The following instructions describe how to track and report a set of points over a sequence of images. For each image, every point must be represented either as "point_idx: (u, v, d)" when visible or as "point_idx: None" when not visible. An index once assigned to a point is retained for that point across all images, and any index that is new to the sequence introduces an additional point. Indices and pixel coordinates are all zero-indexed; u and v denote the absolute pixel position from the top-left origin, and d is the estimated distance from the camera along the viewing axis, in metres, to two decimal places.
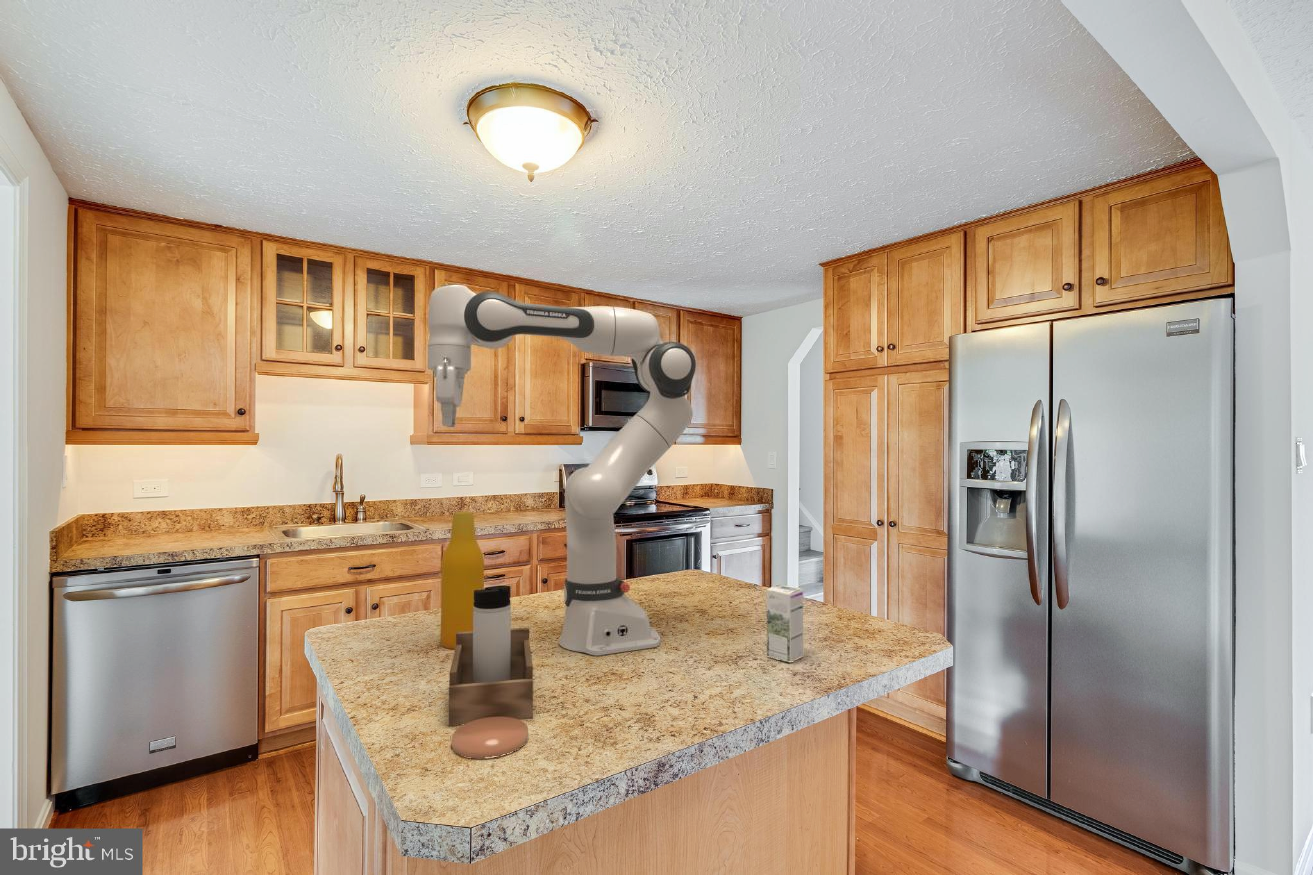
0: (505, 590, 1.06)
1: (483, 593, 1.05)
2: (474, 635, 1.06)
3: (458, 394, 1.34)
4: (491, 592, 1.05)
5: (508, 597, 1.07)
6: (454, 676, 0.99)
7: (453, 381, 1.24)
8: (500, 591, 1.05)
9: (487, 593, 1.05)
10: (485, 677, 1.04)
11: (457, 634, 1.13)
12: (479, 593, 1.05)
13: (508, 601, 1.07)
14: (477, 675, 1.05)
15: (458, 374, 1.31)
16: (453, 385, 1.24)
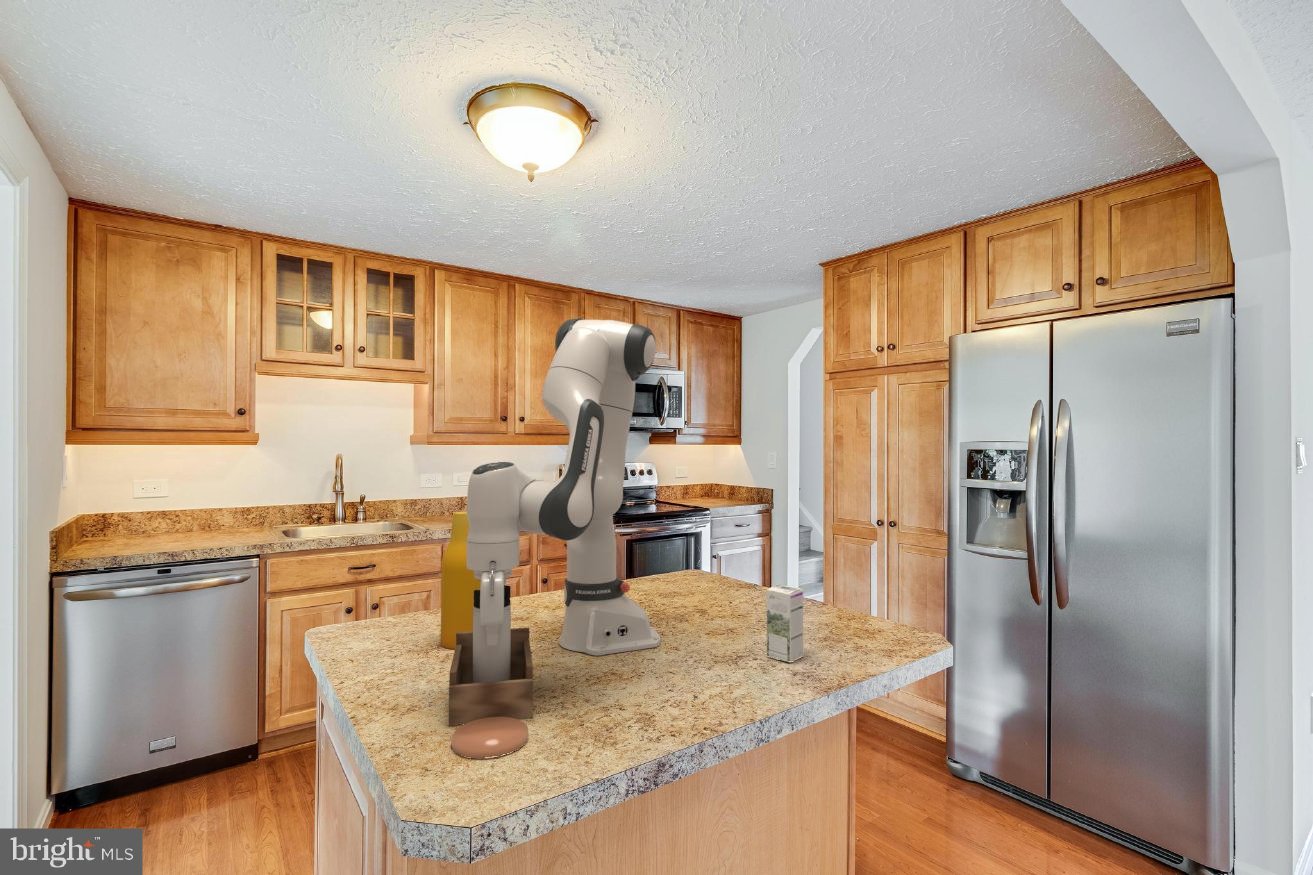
0: (505, 590, 1.05)
1: None
2: (474, 635, 1.06)
3: None
4: None
5: (508, 597, 1.07)
6: (454, 676, 0.99)
7: (502, 599, 0.99)
8: None
9: None
10: (485, 677, 1.04)
11: (457, 634, 1.13)
12: (479, 593, 1.05)
13: (508, 601, 1.07)
14: (477, 675, 1.05)
15: (505, 576, 1.06)
16: (502, 604, 0.98)
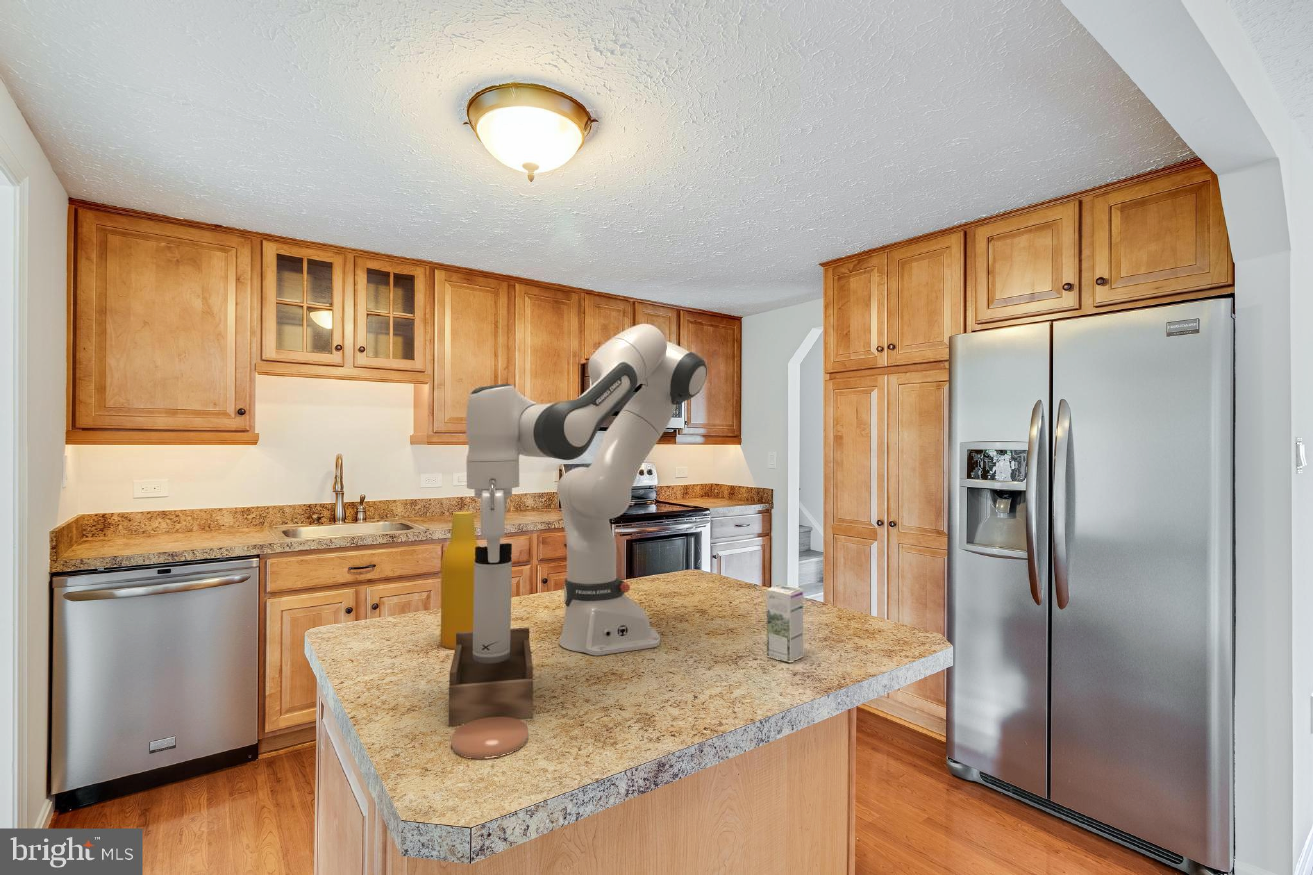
0: (505, 546, 1.05)
1: (483, 548, 1.05)
2: (474, 590, 1.06)
3: None
4: None
5: (508, 554, 1.07)
6: (454, 676, 0.99)
7: (502, 513, 0.99)
8: (500, 547, 1.05)
9: (487, 548, 1.05)
10: (484, 633, 1.05)
11: (457, 634, 1.13)
12: (479, 548, 1.05)
13: (509, 558, 1.07)
14: (476, 630, 1.05)
15: (505, 495, 1.06)
16: (502, 518, 0.99)
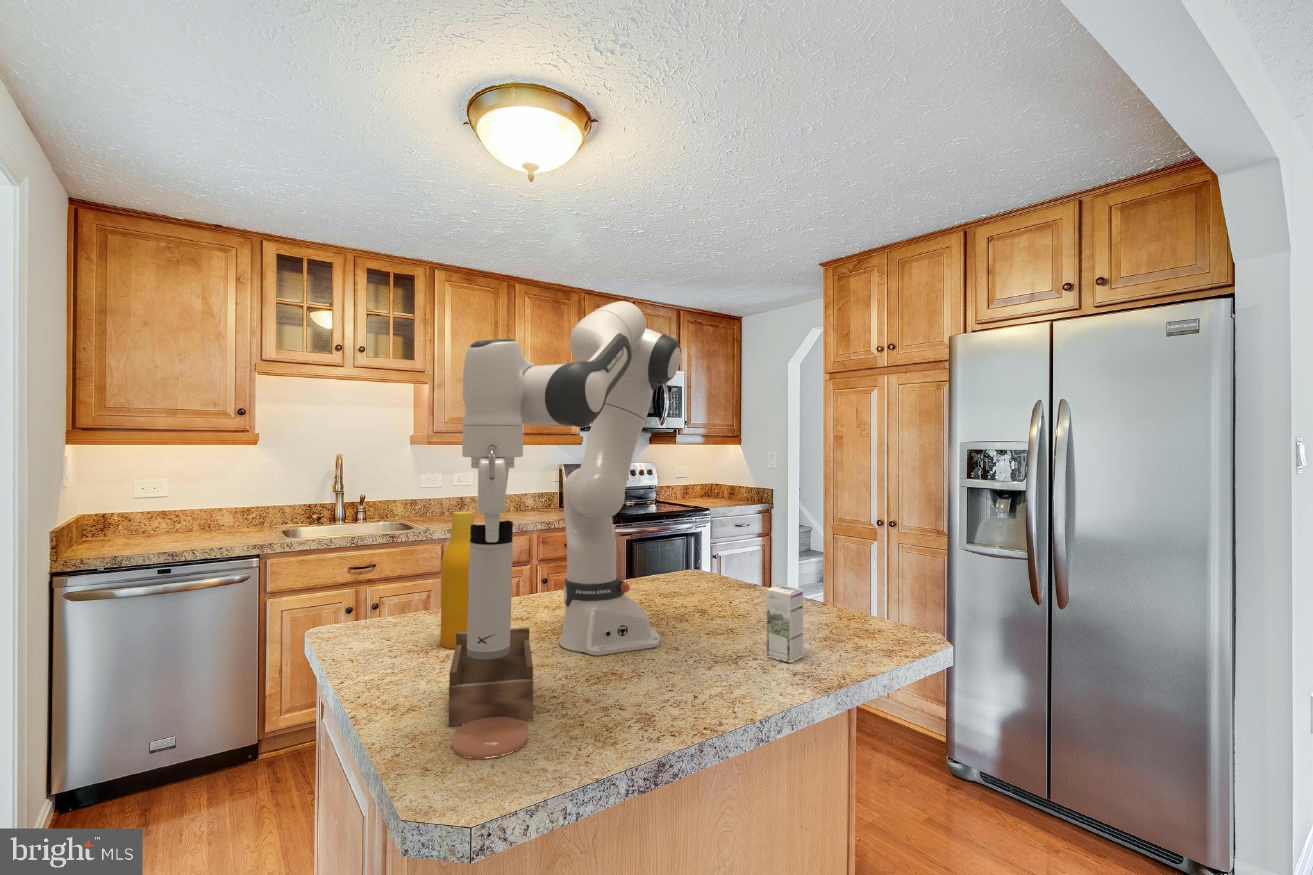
0: (505, 524, 0.91)
1: (480, 526, 0.91)
2: (469, 575, 0.92)
3: None
4: None
5: (509, 533, 0.93)
6: (454, 676, 0.99)
7: (503, 483, 0.85)
8: (499, 525, 0.91)
9: (484, 526, 0.91)
10: (480, 623, 0.90)
11: (457, 634, 1.13)
12: (475, 526, 0.91)
13: (509, 538, 0.93)
14: (471, 621, 0.91)
15: (506, 465, 0.92)
16: (503, 489, 0.85)
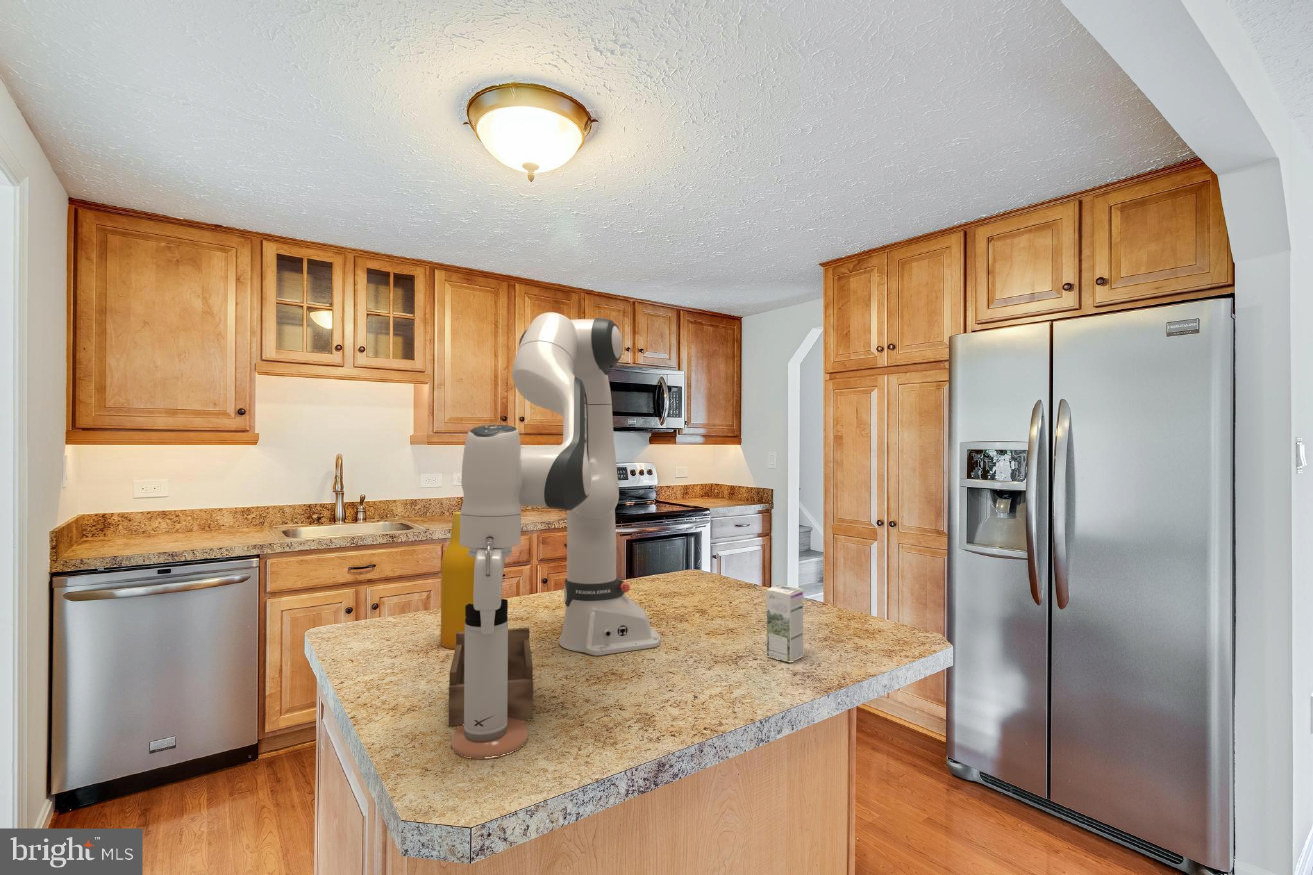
0: None
1: None
2: (465, 656, 0.92)
3: None
4: None
5: (504, 613, 0.92)
6: (454, 676, 0.99)
7: (499, 580, 0.84)
8: None
9: None
10: (476, 706, 0.90)
11: (457, 634, 1.13)
12: (470, 608, 0.91)
13: (504, 618, 0.93)
14: (467, 703, 0.91)
15: (503, 554, 0.92)
16: (499, 586, 0.84)
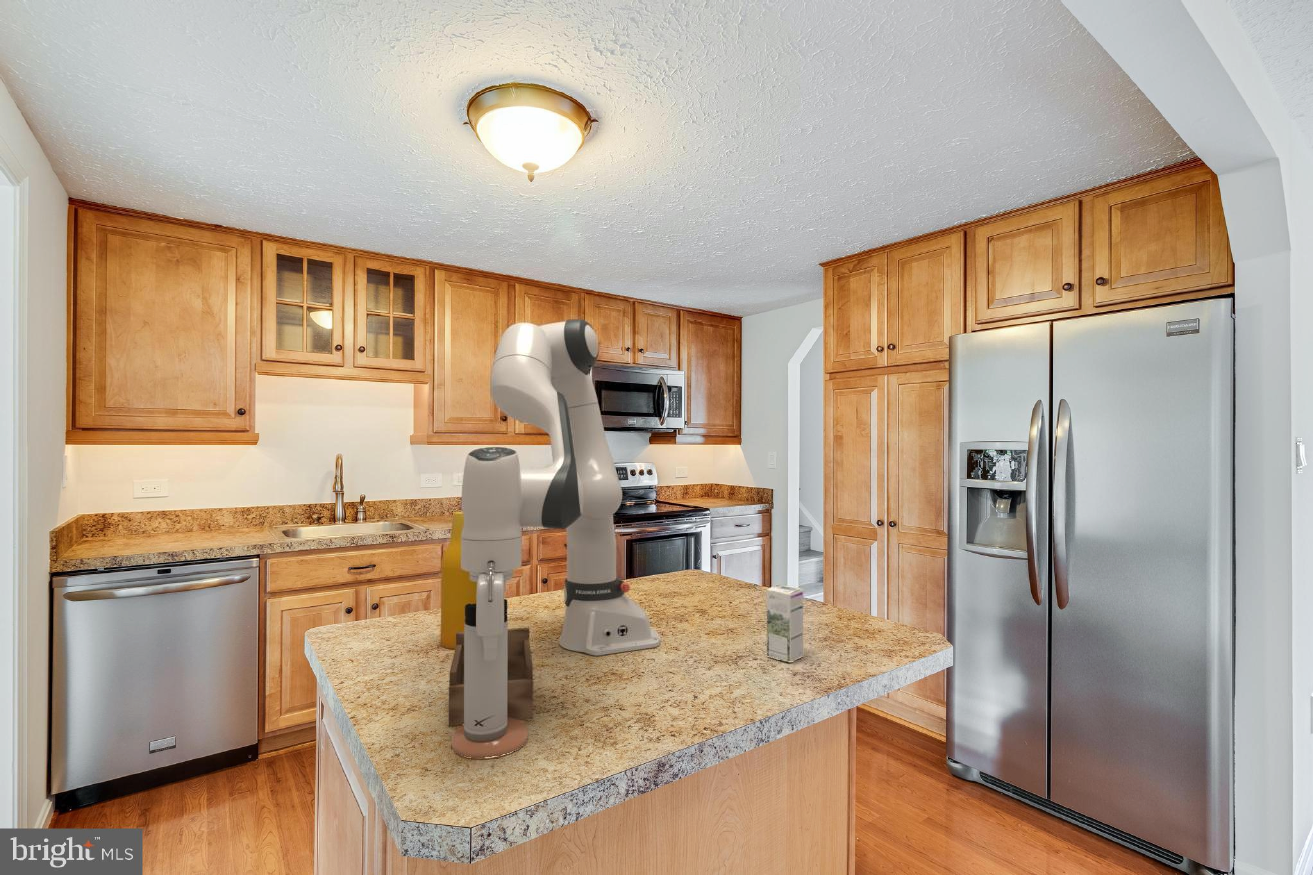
0: None
1: (474, 608, 0.90)
2: (465, 656, 0.92)
3: None
4: None
5: (504, 613, 0.92)
6: (454, 676, 0.99)
7: (502, 605, 0.85)
8: None
9: None
10: (476, 706, 0.90)
11: (457, 634, 1.13)
12: (469, 608, 0.91)
13: (504, 618, 0.93)
14: (467, 703, 0.91)
15: (505, 578, 0.92)
16: (502, 611, 0.84)
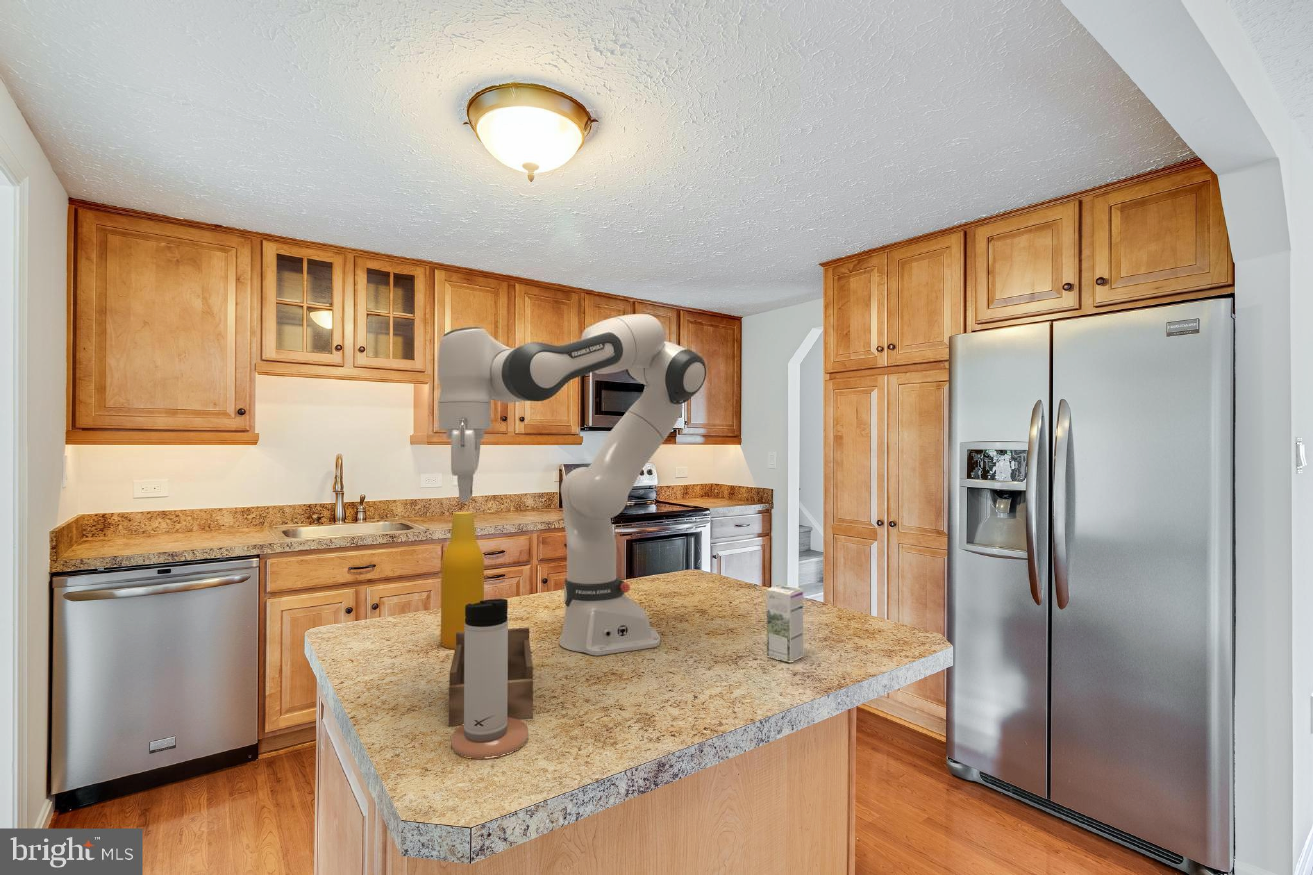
0: (499, 605, 0.91)
1: (474, 608, 0.91)
2: (465, 656, 0.92)
3: (476, 458, 1.11)
4: (483, 607, 0.90)
5: (504, 613, 0.92)
6: (454, 676, 0.99)
7: (472, 450, 1.00)
8: (494, 606, 0.91)
9: (478, 608, 0.90)
10: (476, 706, 0.90)
11: (457, 634, 1.13)
12: (470, 608, 0.91)
13: (504, 618, 0.93)
14: (467, 703, 0.91)
15: (476, 436, 1.07)
16: (473, 455, 1.00)
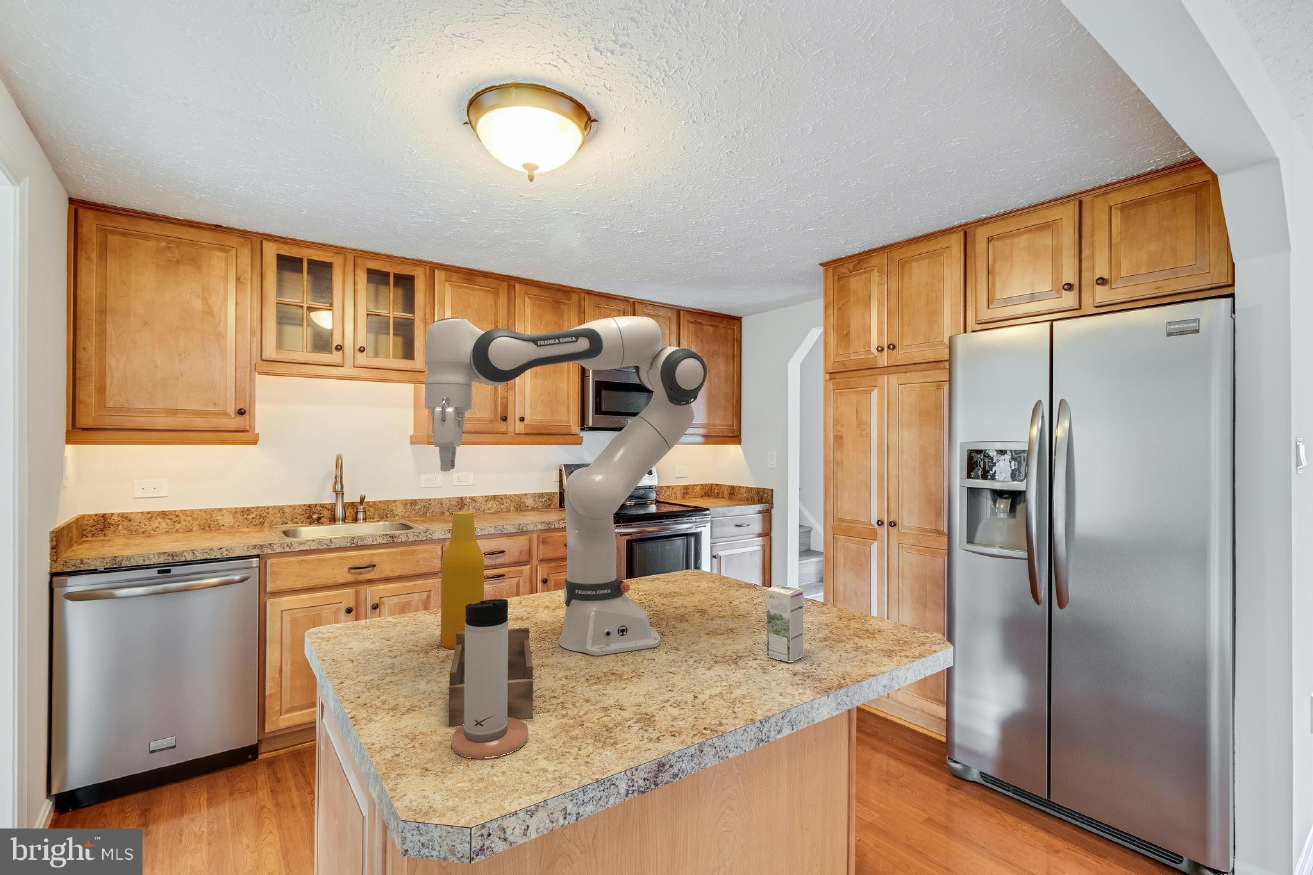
0: (500, 605, 0.91)
1: (474, 608, 0.90)
2: (465, 656, 0.92)
3: (458, 435, 1.25)
4: (483, 607, 0.90)
5: (504, 613, 0.92)
6: (454, 676, 0.99)
7: (452, 424, 1.14)
8: (494, 606, 0.91)
9: (479, 608, 0.90)
10: (476, 706, 0.90)
11: (457, 634, 1.13)
12: (470, 608, 0.91)
13: (504, 618, 0.93)
14: (468, 703, 0.91)
15: (458, 414, 1.21)
16: (452, 429, 1.14)
